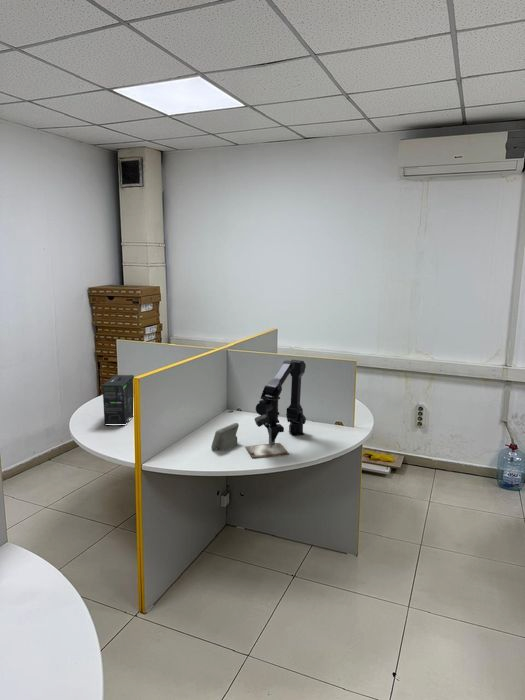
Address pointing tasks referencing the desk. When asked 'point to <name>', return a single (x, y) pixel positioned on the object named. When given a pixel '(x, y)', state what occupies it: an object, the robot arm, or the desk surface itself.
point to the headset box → (118, 399)
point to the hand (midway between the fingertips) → (272, 440)
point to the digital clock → (225, 437)
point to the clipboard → (266, 450)
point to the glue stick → (271, 439)
